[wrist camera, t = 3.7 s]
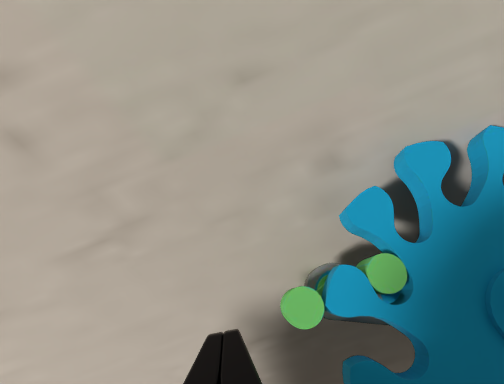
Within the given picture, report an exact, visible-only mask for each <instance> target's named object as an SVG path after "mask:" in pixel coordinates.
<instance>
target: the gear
mask: <svg viewBox="0 0 504 384" xmlns="http://www.w3.org/2000/svg"><path fill="white" fill-rule="evenodd" d="M467 153H468V157H469V160H470V163H471V169H472V181H471V186H470V189H469V192H468V194H467V196H466V198H465V200H464V202H463V204H462V205H461V206H457V205H454V204H452V203H450V202H449V201H448V200H447V199H446V198H445V197H444V195H443V193H442V190H441V182H442V179H443V177H444V176H445V174H446V172H447V171H448V169H449V167H450V164H451V154H450V151H449V149H448V147H447V146H446V145H445V144H444V143H443V142H439V141H426V142H421V143H416V144H413V145H410V146H406V147H405V148H404V149H403V150H402V151H401V152H400V153H399V154H398V155H397V156H396V157H395V160H394V168H395V172H396V174H397V175H398V177H399V178H400V179H401V180H402V181H403V182H404V183H405V184H406V186H407V187H408V188H409V190H410V191H411V193H412V195H413V197H414V199H415V202H416V205H417V208H418V214H419V226H420V234H419V238H418V240H417V241H416V243H411V242H408V241H406V240H404V239H403V238H401V237H400V236H399V234H398V233H397V232H396V229H395V226H394V208H393V203H392V200H391V198H390V197H389V195H388V194H387V193H386V192H385V191H384V190H382V189H381V188H379V187H377V186H373V187H371V188H368V189H366V190H365V191H363V192H362V193H360V194H359V195H358V196H357V197H356V198H355V199H354V200H353V201H352V202H351V203H350V204H349V205H348V206H347V207H346V208H345V209H344V211H343V212H342V213H341V214H340V215H339V217H340V221H341V223H342V225H343V226H344V227H345V228H346V229H347V230H348V231H349V232H351V233H352V234H355V235H357V236H360V237H362V238H364V239H366V240H368V241H369V242H371V243H372V244H373V245H375V246H376V247H377V248H378V249H379V250H380V251H381V252H382V254H378V255H375V256H372V257H370V258H367V259H364V260H362V261H360V262H359V263H358V265H357V266H351V265H341V264H337V263H329V264H324V265H322V266H320V267H318V268H316V269H314V270H313V271H312V272H311V273H310V274H309V275H308V277H307V279H306V281H305V285H304V286H300V287H296V288H293V289H290V290H288V291H287V292H286V293H285V294H284V296H283V297H282V300H281V305H280V307H281V312H282V315H283V316H284V318H285V319H286V320H287V321H288V322H289V323H290V324H291V325H293V326H294V327H296V328H299V329H311V328H313V327H315V326H316V325H318V324H319V322H320V321H321V320H322V317H323V318H326V319H329V320H341V321H351V322H361V323H372V324H382V325H391V326H393V327H394V328H396V329H397V330H399V331H400V332H401V333H403V334H404V335H406V336H407V337H408V338H409V339H410V341H411V342H412V344H413V346H414V350H415V359H414V363H413V364H412V366H411V367H410V368H409V369H408V370H407V371H405V372H402V373H393V372H391V371H390V370H389V369H387V368H386V367H384V366H383V365H381V364H379V363H378V362H376V361H374V360H372V359H370V358H369V357H365V356H359V355H357V356H352V357H349V358H347V359H346V360H345V361H343V369H342V373H343V382H344V384H504V185H503V181H502V178H503V174H504V128H503V127H497V126H492V125H490V126H488V127H487V128H486V129H484V130H483V131H482V132H480V133H479V134H478V135H476V136H475V137H474V138H473V139H472V140H471V141H470V142H469V144H468V148H467Z"/></svg>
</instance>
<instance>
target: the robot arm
mask: <svg viewBox="0 0 504 384" xmlns="http://www.w3.org/2000/svg"><path fill="white" fill-rule="evenodd" d="M183 384H262V382H261V380H260V378H259V375H258V373H257V371H256V368H255V366H254V364H253V361H252V359H251V357H250V355H249V352H248V350H247V348H246V345H245V343H244V341H243V338H242V336H241V334H240V332H239V330H238V329H234V330H229V331H225V332H224V333H222V332H219V333H214V334H210V335H208V336H207V338H206V340H205V342H204V344H203V346H202V348H201V350H200V352H199V354H198V356H197V358H196V360H195V362H194V364H193V366H192V368H191V370H190V371H189V373H188V375H187V377H186V379H185V381H184V383H183Z"/></svg>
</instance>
